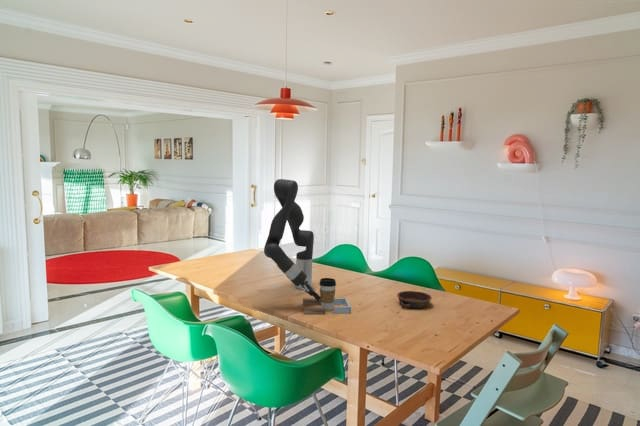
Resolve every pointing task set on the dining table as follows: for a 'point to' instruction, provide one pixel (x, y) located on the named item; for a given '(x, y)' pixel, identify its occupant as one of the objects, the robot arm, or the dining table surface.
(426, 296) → the dish
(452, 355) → the dining table surface
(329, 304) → the coffee cup
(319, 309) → the clamp blocks
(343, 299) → the corral
